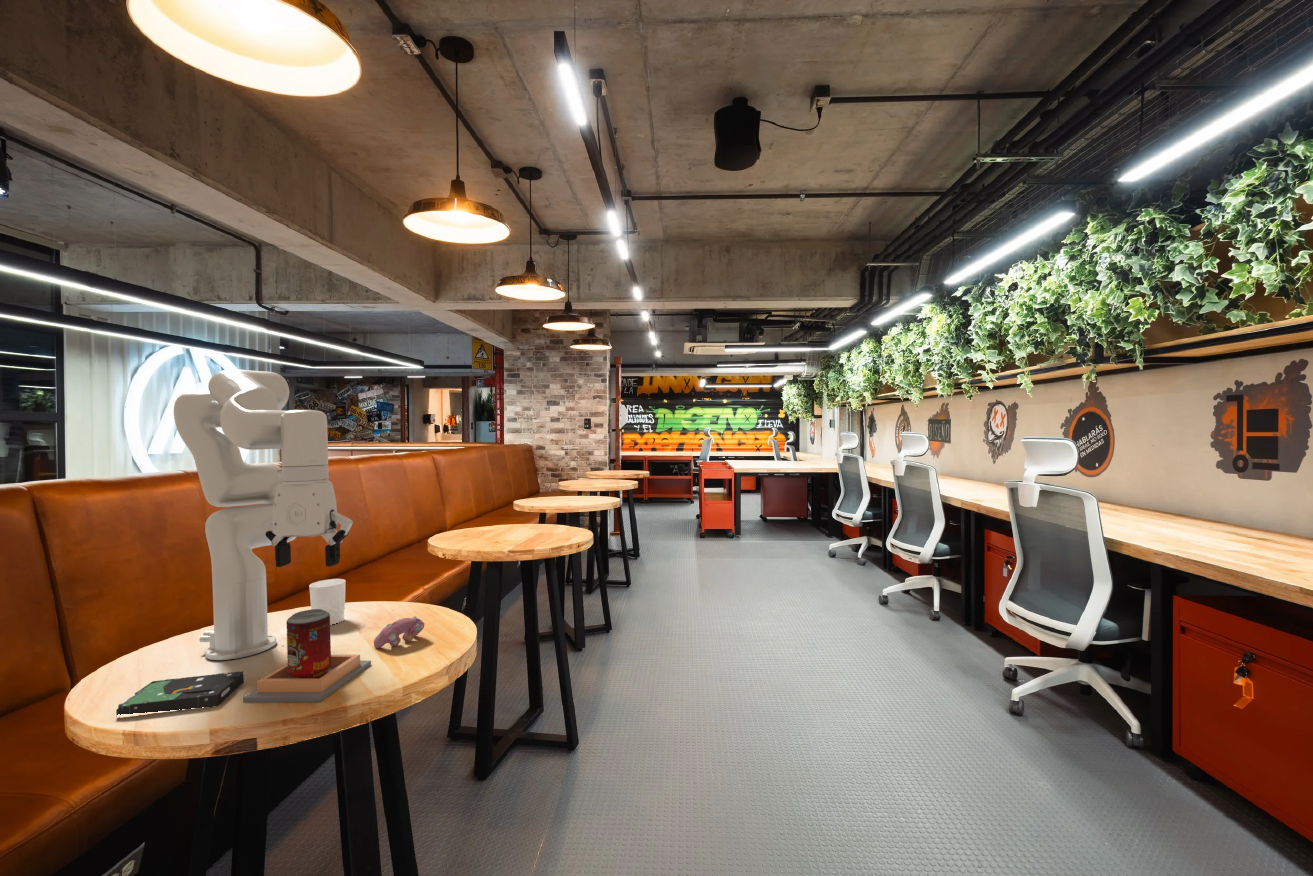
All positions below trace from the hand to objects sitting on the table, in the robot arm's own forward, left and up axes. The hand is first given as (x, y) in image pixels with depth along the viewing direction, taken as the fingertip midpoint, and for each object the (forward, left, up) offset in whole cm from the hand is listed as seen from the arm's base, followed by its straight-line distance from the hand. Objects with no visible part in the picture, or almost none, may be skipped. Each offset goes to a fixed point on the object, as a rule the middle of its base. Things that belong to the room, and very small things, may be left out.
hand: (308, 565), depth 107 cm
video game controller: (+7, +19, -23) cm, 31 cm away
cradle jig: (0, 0, -22) cm, 22 cm away
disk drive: (-19, -7, -23) cm, 30 cm away
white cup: (-19, +34, -22) cm, 45 cm away
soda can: (0, 0, -22) cm, 22 cm away
